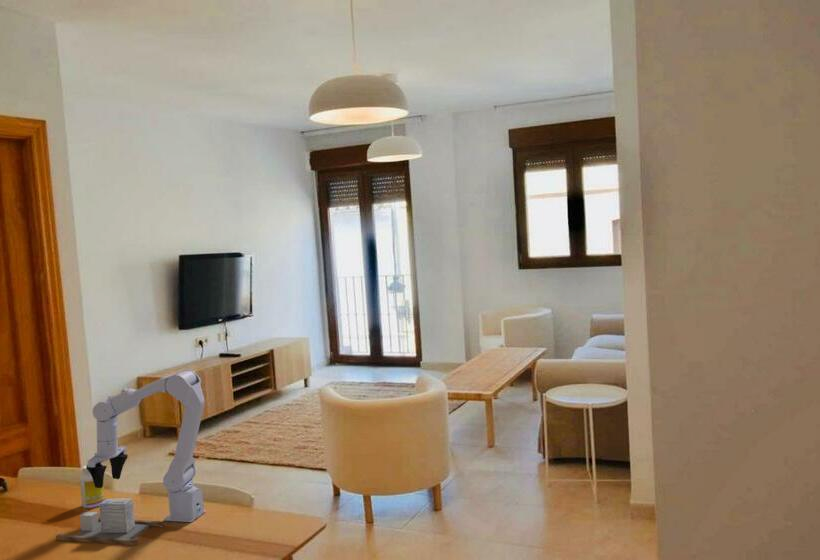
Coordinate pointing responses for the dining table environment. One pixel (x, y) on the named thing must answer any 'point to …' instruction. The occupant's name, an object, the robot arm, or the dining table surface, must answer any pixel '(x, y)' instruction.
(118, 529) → the medicine box
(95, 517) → the grey tray plate
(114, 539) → the walnut guide rails
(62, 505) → the dining table surface
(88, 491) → the supplement bottle
